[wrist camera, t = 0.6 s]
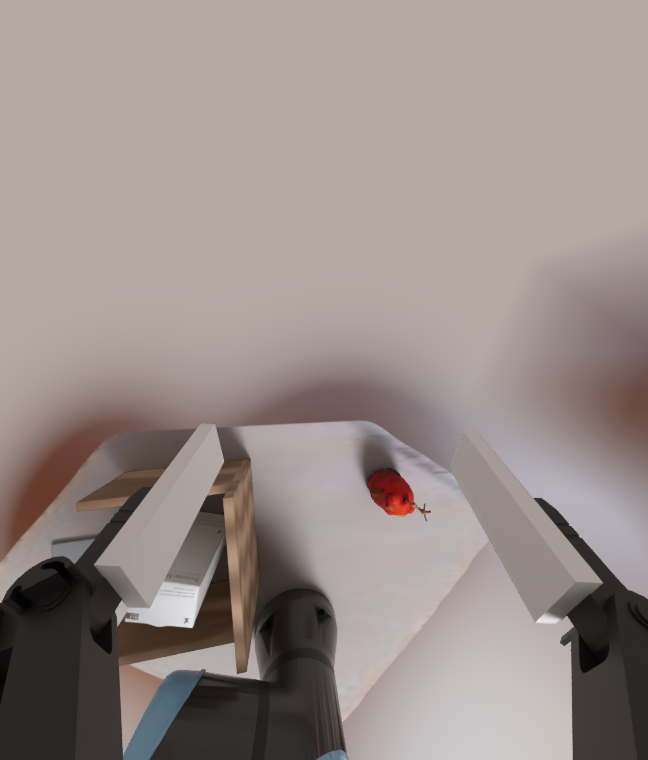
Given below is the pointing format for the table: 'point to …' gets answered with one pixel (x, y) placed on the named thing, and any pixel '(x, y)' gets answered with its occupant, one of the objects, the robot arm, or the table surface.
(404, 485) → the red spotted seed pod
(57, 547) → the grey rubber mat
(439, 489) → the table surface
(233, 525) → the walnut rack
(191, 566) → the skincare box
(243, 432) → the table surface
